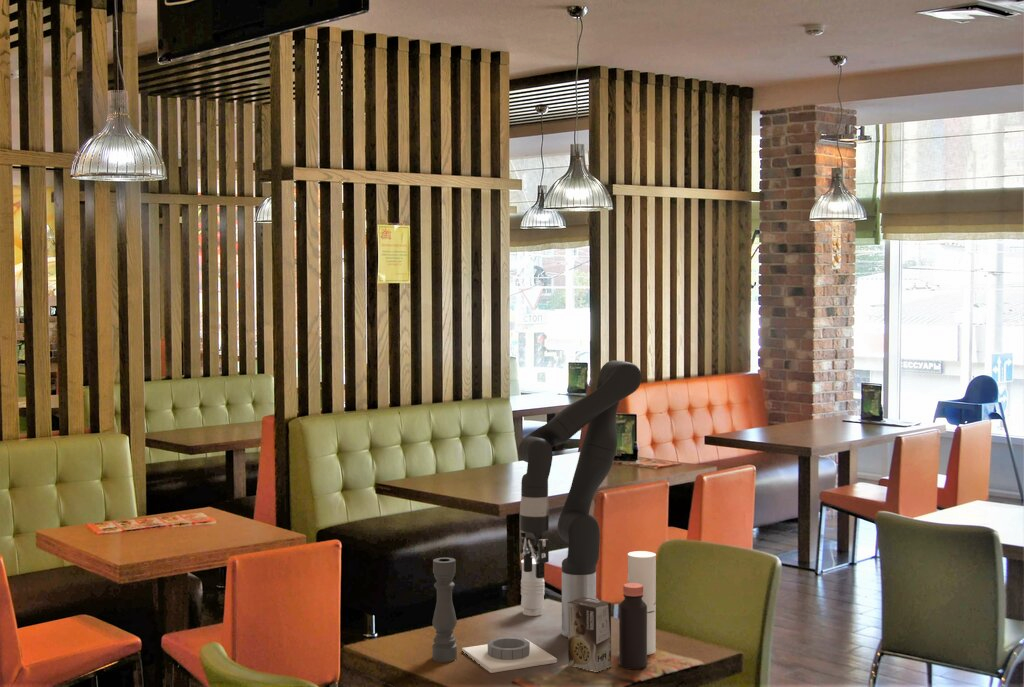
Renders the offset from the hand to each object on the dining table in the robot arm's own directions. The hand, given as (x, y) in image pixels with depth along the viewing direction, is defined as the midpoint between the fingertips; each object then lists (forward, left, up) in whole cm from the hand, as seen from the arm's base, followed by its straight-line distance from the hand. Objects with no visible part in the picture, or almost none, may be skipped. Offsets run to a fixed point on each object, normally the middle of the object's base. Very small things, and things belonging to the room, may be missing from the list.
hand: (533, 574), depth 297 cm
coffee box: (-4, +23, -18) cm, 30 cm away
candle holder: (+26, +2, -18) cm, 32 cm away
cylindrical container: (-22, +18, -18) cm, 34 cm away
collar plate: (+11, +8, -18) cm, 23 cm away
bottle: (-14, +27, -18) cm, 36 cm away
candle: (-12, -25, -18) cm, 33 cm away
